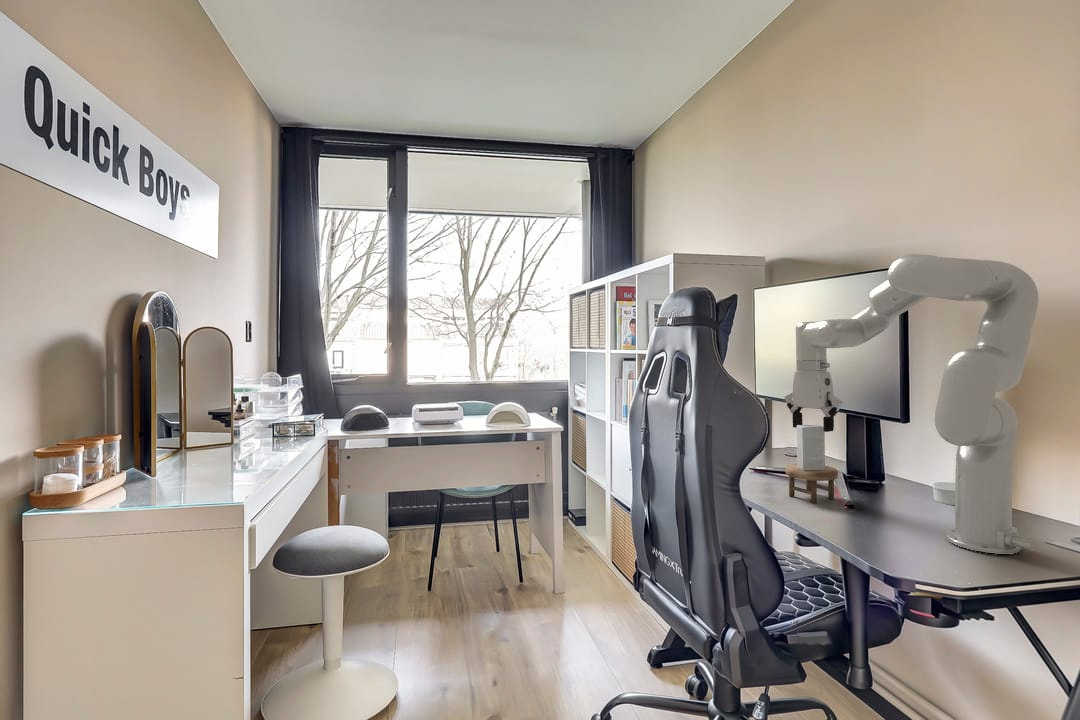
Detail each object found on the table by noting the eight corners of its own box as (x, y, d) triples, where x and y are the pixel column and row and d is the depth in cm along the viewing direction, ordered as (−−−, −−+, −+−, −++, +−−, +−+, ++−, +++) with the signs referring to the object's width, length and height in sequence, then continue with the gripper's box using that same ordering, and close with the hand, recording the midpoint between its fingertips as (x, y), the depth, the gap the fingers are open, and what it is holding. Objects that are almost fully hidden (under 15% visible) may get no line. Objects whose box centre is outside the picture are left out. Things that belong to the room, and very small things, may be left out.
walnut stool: (848, 499, 155) (848, 470, 155) (816, 507, 149) (816, 477, 149) (807, 488, 167) (806, 461, 166) (775, 495, 161) (775, 467, 161)
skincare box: (818, 466, 160) (818, 424, 159) (825, 470, 155) (825, 426, 155) (796, 467, 160) (796, 424, 159) (802, 470, 156) (802, 427, 155)
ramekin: (940, 506, 149) (940, 489, 148) (926, 496, 157) (926, 480, 157) (979, 507, 146) (980, 491, 146) (963, 497, 155) (963, 482, 155)
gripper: (849, 366, 150) (851, 431, 151) (794, 365, 166) (795, 424, 166) (830, 368, 147) (832, 434, 147) (775, 366, 162) (777, 426, 163)
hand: (812, 429), depth 157 cm, fingers open, 9 cm apart
